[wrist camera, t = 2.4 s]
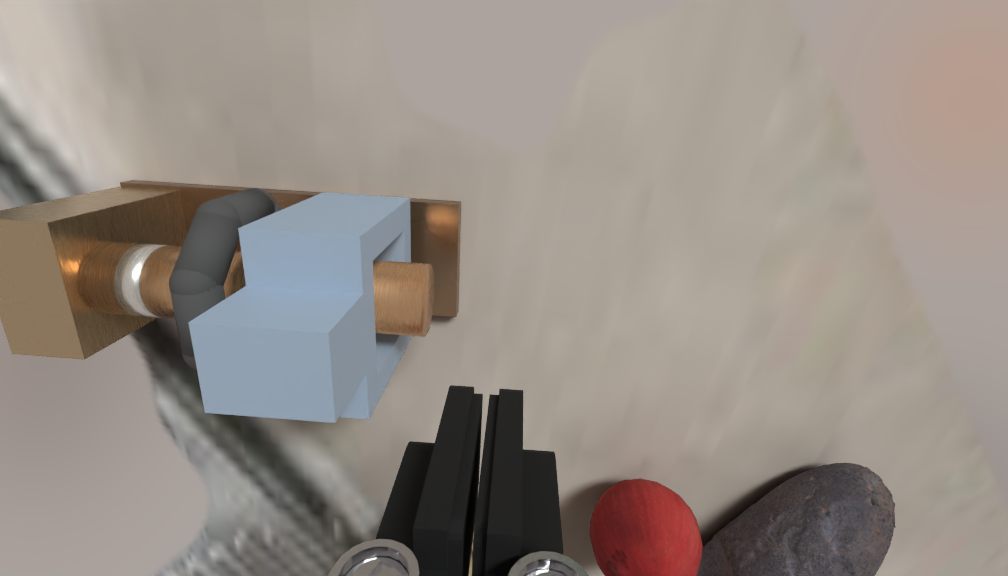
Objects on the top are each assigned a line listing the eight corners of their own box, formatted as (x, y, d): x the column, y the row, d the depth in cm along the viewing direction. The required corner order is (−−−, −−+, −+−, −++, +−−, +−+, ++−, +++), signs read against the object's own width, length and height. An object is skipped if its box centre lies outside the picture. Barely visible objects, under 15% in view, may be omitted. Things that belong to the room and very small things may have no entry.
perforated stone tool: (815, 419, 28) (900, 513, 22) (880, 465, 29) (981, 568, 23) (644, 572, 33) (671, 687, 27) (704, 607, 34) (745, 727, 27)
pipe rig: (460, 201, 25) (430, 243, 17) (458, 311, 27) (430, 390, 20) (132, 180, 25) (-35, 211, 18) (154, 289, 28) (13, 358, 20)
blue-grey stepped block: (410, 197, 22) (323, 264, 13) (411, 336, 25) (339, 476, 16) (323, 192, 23) (176, 254, 13) (333, 331, 25) (214, 466, 16)
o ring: (300, 180, 23) (191, 216, 16) (314, 333, 26) (226, 424, 18) (266, 178, 23) (142, 212, 16) (283, 330, 26) (184, 421, 18)
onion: (619, 537, 32) (646, 669, 25) (565, 480, 31) (575, 601, 23) (697, 494, 30) (751, 621, 23) (644, 432, 29) (683, 546, 22)
